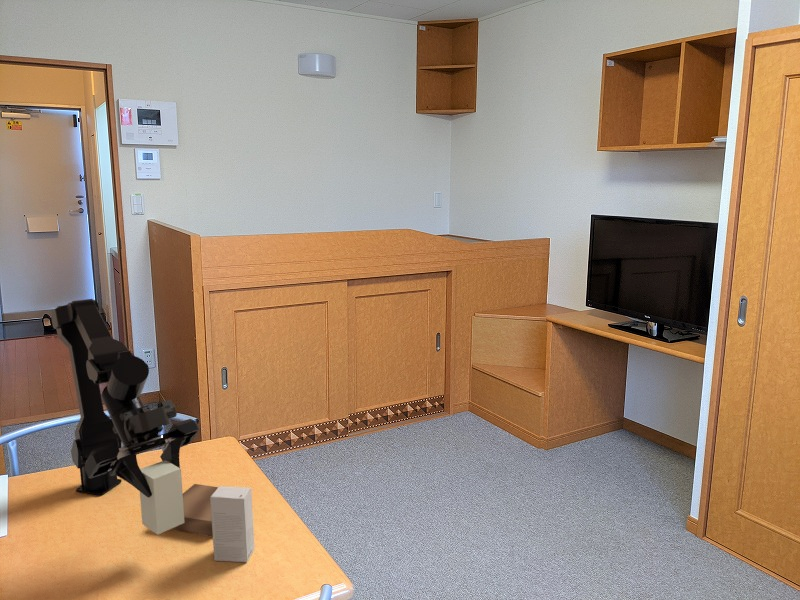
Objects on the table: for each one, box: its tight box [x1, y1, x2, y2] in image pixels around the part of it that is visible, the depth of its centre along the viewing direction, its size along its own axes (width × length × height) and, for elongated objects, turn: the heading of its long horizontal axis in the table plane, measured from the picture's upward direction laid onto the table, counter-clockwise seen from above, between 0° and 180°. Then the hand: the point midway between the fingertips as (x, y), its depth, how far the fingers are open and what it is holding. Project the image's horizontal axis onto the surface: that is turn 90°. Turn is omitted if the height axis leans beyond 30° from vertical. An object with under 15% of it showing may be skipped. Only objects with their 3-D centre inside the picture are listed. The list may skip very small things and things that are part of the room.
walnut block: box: [168, 483, 219, 538], centre depth 127 cm, size 12×12×4 cm
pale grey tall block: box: [139, 460, 184, 536], centre depth 112 cm, size 5×5×10 cm
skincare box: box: [210, 485, 255, 563], centre depth 114 cm, size 6×4×12 cm
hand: (165, 490), depth 111 cm, fingers closed on pale grey tall block, 5 cm apart
